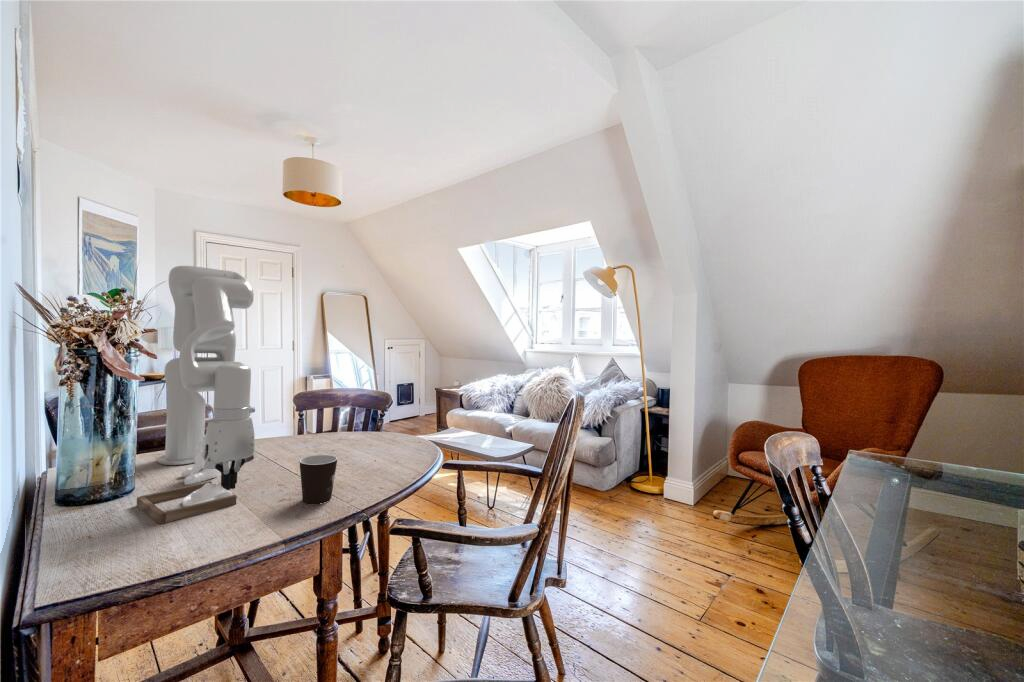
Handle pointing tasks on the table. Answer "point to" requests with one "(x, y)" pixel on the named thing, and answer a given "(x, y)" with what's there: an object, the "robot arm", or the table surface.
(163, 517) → the walnut bay
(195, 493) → the rose
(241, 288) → the robot arm
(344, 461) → the table surface
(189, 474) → the seated beast figurine
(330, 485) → the coffee mug
